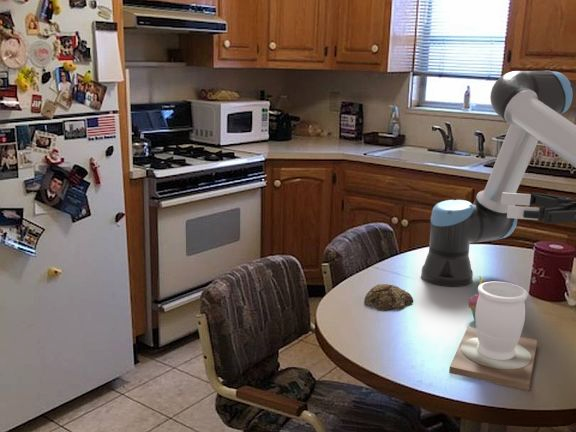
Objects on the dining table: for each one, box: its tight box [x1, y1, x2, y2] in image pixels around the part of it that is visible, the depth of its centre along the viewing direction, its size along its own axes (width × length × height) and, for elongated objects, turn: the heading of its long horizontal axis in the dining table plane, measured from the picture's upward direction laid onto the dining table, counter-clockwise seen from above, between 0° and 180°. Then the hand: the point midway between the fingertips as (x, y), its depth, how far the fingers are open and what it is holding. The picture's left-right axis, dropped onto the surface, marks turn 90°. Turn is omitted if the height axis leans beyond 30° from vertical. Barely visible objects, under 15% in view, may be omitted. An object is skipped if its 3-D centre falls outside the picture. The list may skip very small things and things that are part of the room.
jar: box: [474, 280, 529, 360], centre depth 136 cm, size 11×10×15 cm
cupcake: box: [467, 276, 483, 323], centre depth 157 cm, size 9×8×12 cm
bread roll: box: [364, 283, 414, 312], centre depth 169 cm, size 13×12×5 cm
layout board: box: [448, 326, 538, 391], centre depth 138 cm, size 22×16×2 cm
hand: (504, 204), depth 146 cm, fingers open, 13 cm apart
